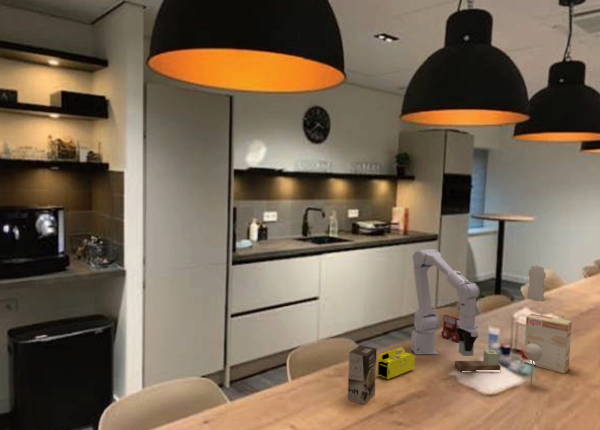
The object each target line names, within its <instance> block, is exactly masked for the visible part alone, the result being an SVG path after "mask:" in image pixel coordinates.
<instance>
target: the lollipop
mask: <svg viewBox="0 0 600 430" xmlns="http://www.w3.org/2000/svg"><path fill="white" fill-rule="evenodd" d="M523 353H525V356H526V357H527V358H528V359H530V360H532V365H531V370H530V373H531V374H530V385H533V373H534V365H533V361H536V360H539V359H540V358H541V357H542V350H541V348H540V347H539V346H538V345H536V344H528V345H527V346H526V347H525V346H524V349H523Z"/></svg>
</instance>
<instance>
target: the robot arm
mask: <svg viewBox="0 0 600 430" xmlns="http://www.w3.org/2000/svg"><path fill="white" fill-rule="evenodd" d="M412 261H413V273H414V274H413V275H414V281H415V288H416V296H417V304H418V306H417V307H418V309H416V311H415V312H414V314H413V315H414V321H413V326H414V328H415V330H412V332H411V337H410V338H411V339H410V341H411V342H410V344H411V345H410V349H411V350H412V352H414V354H415V355H438V354H439V353H438V352H437V351H436V350H435V344H436V343H435V342H436V332H437V329H438V328H439V327H440V319H439V317H438V313H437V311H436V310H435V309H434V308H433V307H432V300H431V293H430V292H431V291H430V286H429V285H430V283H429V277H428V272H429V271H428V270H429V269H430V268H431V267H433V266H435V267H436V269H438V270H439V271H440V272H441V273H442V274H444V275H445V276H446V281H447V282H448V283H449V284H450V285H451V286H452V287H453V289H455V290H456V293H457V296H458V301H459V317H458V319H459V320H457V325H458V327H459V328H456V331H457V334H458V337H459V341H464V345H465V351H471V350H472V347H473V344H475V341H476V340H477V338H478V337H479V334H478V331H477V329H478V327H479V326H478V325H476V308H477V307H476V306H477V301H476V300H477V298H478V297H479V296H480V291H481V290H480V287H479V286H478V285H477V283H475V282H471V281H470V280H469V279H467V278H466V277H465V276H464V275H463V274H462V271H459V270H453V268H452V267H451V266H450V265H449V264H448V263H447V262H446V260H445V259H444V258H443V257H442V254H441V252H440V251H438V249H436V248H431V249H417V250H415V252H414V253H413V254H412ZM459 341H458V342H459Z"/></svg>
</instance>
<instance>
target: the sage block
mask: <svg viewBox="0 0 600 430" xmlns="http://www.w3.org/2000/svg"><path fill="white" fill-rule="evenodd" d="M482 358H483V360H482V361H484V362H485V363H486V364H487V365H498V364H499V353H498V352H497V351H496V350H494V349H484V350H483V357H482Z"/></svg>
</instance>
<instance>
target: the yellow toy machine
mask: <svg viewBox="0 0 600 430" xmlns="http://www.w3.org/2000/svg"><path fill="white" fill-rule="evenodd" d="M415 356H416V355H414V354H413V353H409V352H406V349H405V348H404V347H402V346H401V347H397V348H394V349H392V350H388V351H386V352H383V353H380V355H379V356H378V358H377V365H376V370H377V371H376V374H377V376H378V375H379V376H380V377H381V378H384V379H386V380H389V379H392V378H394V377H397V376H401V375H402V374H406V373H407V372H409V371H412V370H414V369H415V363H416V362H415V359H416V357H415Z"/></svg>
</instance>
